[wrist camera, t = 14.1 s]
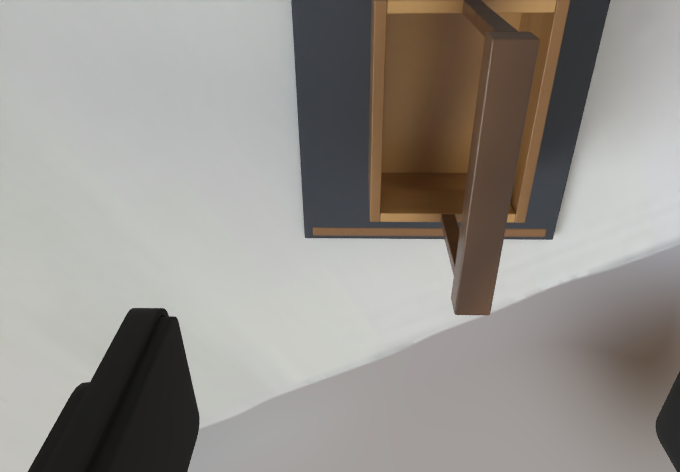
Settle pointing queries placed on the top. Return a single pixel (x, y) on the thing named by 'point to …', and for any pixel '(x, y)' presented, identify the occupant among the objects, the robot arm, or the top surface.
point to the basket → (460, 122)
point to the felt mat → (354, 110)
